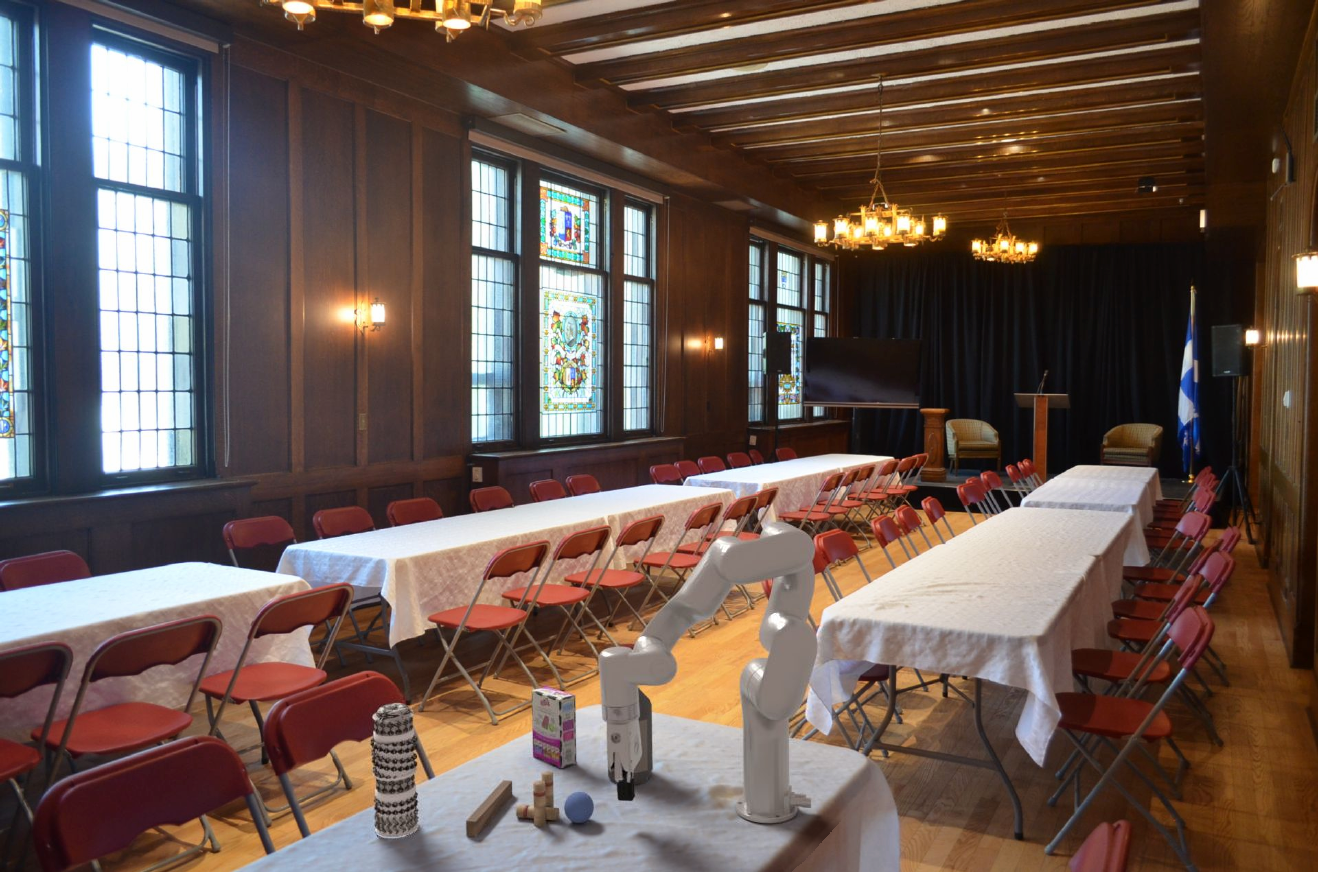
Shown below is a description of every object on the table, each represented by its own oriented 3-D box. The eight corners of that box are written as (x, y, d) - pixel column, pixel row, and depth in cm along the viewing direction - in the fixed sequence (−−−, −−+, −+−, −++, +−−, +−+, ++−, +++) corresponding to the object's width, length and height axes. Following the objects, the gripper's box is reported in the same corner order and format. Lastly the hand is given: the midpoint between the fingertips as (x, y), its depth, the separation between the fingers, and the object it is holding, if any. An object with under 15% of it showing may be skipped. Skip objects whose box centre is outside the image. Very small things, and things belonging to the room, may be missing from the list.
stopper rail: (512, 794, 212) (512, 780, 212) (475, 836, 193) (475, 821, 193) (503, 793, 213) (503, 779, 213) (466, 835, 193) (466, 820, 193)
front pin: (559, 805, 200) (519, 802, 202) (555, 811, 198) (515, 808, 200) (559, 816, 201) (520, 813, 203) (556, 822, 198) (516, 819, 200)
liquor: (646, 785, 216) (643, 652, 214) (605, 783, 217) (603, 650, 216) (654, 769, 225) (652, 641, 223) (615, 767, 226) (613, 639, 225)
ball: (564, 793, 202) (577, 819, 202) (555, 805, 196) (568, 832, 196) (588, 782, 201) (602, 808, 201) (580, 794, 195) (594, 821, 195)
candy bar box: (578, 763, 229) (576, 694, 228) (561, 769, 225) (559, 699, 224) (548, 751, 237) (547, 684, 236) (531, 756, 233) (530, 689, 232)
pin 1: (547, 821, 199) (546, 780, 198) (543, 827, 196) (542, 785, 196) (536, 820, 199) (535, 779, 199) (532, 826, 197) (531, 784, 196)
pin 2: (555, 811, 204) (554, 771, 203) (551, 816, 201) (550, 775, 201) (544, 810, 204) (543, 770, 204) (540, 815, 202) (539, 774, 201)
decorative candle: (373, 842, 191) (369, 717, 189) (373, 822, 200) (369, 702, 198) (421, 836, 193) (417, 712, 192) (419, 816, 202) (415, 697, 201)
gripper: (629, 723, 187) (635, 816, 189) (647, 697, 202) (652, 783, 203) (592, 723, 189) (598, 815, 190) (612, 697, 204) (617, 782, 205)
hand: (626, 798), depth 197 cm, fingers closed
